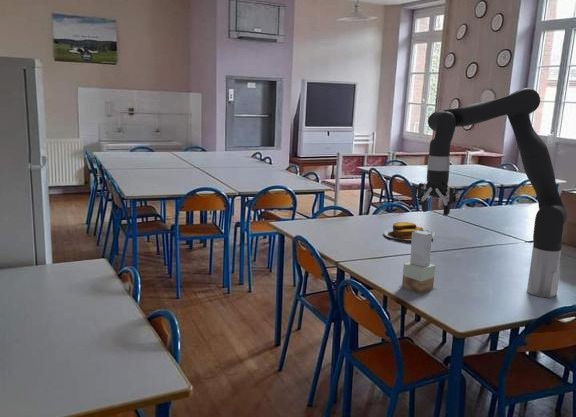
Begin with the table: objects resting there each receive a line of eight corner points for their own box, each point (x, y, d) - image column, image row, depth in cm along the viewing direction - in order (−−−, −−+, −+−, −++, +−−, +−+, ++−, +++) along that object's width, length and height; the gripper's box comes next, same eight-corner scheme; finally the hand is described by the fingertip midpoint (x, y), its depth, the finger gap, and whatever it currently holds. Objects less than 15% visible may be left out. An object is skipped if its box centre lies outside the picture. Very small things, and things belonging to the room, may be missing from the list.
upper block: (434, 277, 195) (435, 265, 194) (421, 281, 190) (422, 269, 189) (415, 271, 201) (416, 259, 200) (402, 275, 196) (403, 263, 195)
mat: (436, 289, 196) (436, 288, 196) (420, 295, 189) (420, 294, 189) (414, 282, 203) (414, 281, 203) (397, 287, 197) (398, 286, 197)
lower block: (433, 288, 196) (434, 277, 195) (420, 293, 191) (421, 281, 190) (414, 282, 202) (415, 271, 201) (401, 286, 197) (402, 275, 196)
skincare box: (430, 265, 194) (433, 232, 191) (423, 267, 191) (426, 234, 188) (415, 261, 198) (418, 229, 196) (408, 263, 195) (411, 231, 192)
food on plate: (428, 247, 253) (429, 233, 252) (377, 239, 264) (378, 226, 262) (438, 235, 275) (440, 223, 274) (391, 228, 286) (392, 216, 285)
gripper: (462, 169, 186) (458, 215, 190) (426, 165, 197) (423, 209, 200) (450, 171, 181) (447, 218, 185) (415, 167, 192) (412, 211, 195)
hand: (435, 213), depth 192 cm, fingers open, 8 cm apart
